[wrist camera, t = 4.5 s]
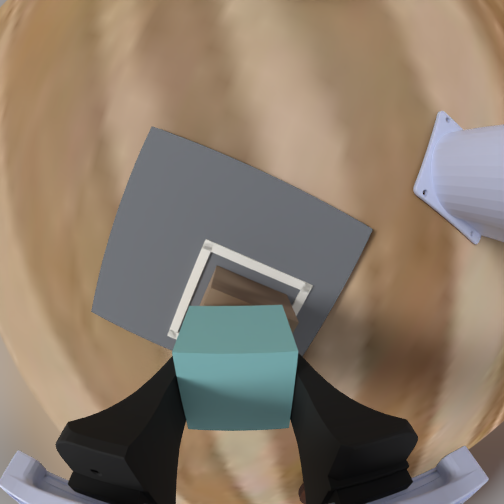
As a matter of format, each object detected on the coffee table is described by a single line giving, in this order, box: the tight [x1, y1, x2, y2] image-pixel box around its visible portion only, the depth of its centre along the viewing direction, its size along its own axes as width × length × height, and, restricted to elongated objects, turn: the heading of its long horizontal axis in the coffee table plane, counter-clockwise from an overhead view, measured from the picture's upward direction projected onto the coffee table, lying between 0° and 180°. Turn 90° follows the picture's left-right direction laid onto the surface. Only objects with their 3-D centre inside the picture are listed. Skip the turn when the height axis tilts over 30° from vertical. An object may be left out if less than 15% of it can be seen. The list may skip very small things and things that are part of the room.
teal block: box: [172, 305, 298, 431], centre depth 12 cm, size 4×4×4 cm
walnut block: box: [199, 266, 299, 333], centre depth 16 cm, size 5×5×4 cm
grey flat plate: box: [91, 127, 373, 356], centre depth 18 cm, size 16×14×1 cm
